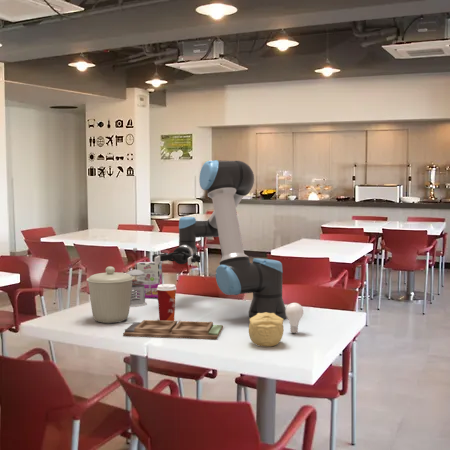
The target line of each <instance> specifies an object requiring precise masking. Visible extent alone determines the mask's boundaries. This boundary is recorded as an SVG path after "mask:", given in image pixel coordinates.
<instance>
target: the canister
mask: <svg viewBox="0 0 450 450" xmlns="http://www.w3.org/2000/svg"><path fill="white" fill-rule="evenodd" d="M115 271H116V268H115V267H114V266H111V265H110V266H107V267H106V268H105V272H100V273H95V274H91V275H89V277H87V278H86V282H87V283H88V284H87V285H88V291H89V298H90V306H91V312H92V317H93V320H95V321H96V322H99V323H103V324H114V323H119V322H123V321H125V320H127V319H128V317H129V314H130V308H131V307H130V300H131V290H132V281H135V276H131V275H129V274H126V273H127V272H126V273H125V272H117V271H116V272H115ZM132 291H133V290H132Z"/></svg>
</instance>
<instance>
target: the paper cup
mask: <svg viewBox="0 0 450 450" xmlns="http://www.w3.org/2000/svg"><path fill="white" fill-rule="evenodd" d="M176 291H177V287H176V284H174V283H162V284H161V285H158V287H157V292H158V298H157V301H158V302H157V303H158V304H157V305H158V318H159V320H162V321H175V313H176V312H175V311H176V294H177V293H176Z"/></svg>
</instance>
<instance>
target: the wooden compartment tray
mask: <svg viewBox="0 0 450 450" xmlns="http://www.w3.org/2000/svg"><path fill="white" fill-rule="evenodd" d="M223 330H224V325H223V324H214V321H192V320H191V321H186V320H185V321H184V320H179V321H177V320H174V321H162V320H157V319H155V320H154V319H153V320H152V319H143V320H142V321H141V322H140V321H139V322H137V321H135V322H133V323H132V324H130V325H129V326H128V327H127V328H126V329H124V332H123V333H122V336H123V337H137V338H160V339H161V338H163V339H164V338H167V339H188V340H189V339H193V340H194V339H195V340H218V338H219V336H221V333H222V331H223Z"/></svg>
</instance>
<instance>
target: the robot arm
mask: <svg viewBox="0 0 450 450" xmlns="http://www.w3.org/2000/svg"><path fill="white" fill-rule="evenodd" d="M198 177H199V180H198V181H199V186H200V188H201V189H202V190H203V191H206V193H207V197H208V198H210V199H211V200H212V206H213V212H212V213H211V215H210V216H209V218H208V220H197V219H196V217H195V216H182V217H180V218H179V221H178V247H176V248H175V249H174V250H173V252H169V253H168V252H164V253H158V254H152V255H151V257H152V259H151V260H152V261H151V262H155V264H158V263H160V262H167V261H169V262H175V263H176V264H178V265H185V264H187V266H191V265H192V264H193V263H200V264H201V262H202V261H201V259H202V258H201V256H200V255H199V254H198V247H197V245H196V243H197V242H196V239H197V238H217V237H218V240H219V247H220V250H221V251H220V252H221V256H222V257H221V259H220V261H219V263H218V264H219V265H218V266H217V267H216V269H215V280H216V284H217V286H218V289H219V290H220V291H221V292H222V293H223V294H225V295H227V296H238V295H242V294H243V295H244V294H252V300H251V303H250V306H249V309H248V318H249V319H250V318H252V317H254V316H255V315H257V313H265V312H267V313H275V315H277V316H279V317H281V318H283V320H285V319H286V318H287V316H286V314H285V309H286V305H285V303H284V299H283V273H284V272H283V263H282V262H281V261H279V260H276V259H268V258H263V257H262V258H259V257H256V258H255V257H254V258H252V262H250V257H249V255H247V254H245V250H244V246H243V240H242V235H241V229H240V223H239V218H238V212H237V207H238V206H239V204H240V202H241V201H242V200H243V198H244V197H245V196H248V195H249V193H250V192H251V191H252V189H253V187H254V184H255V174H254V172H253V170H252V168H251V166H249V164H248V163H246V162H244V161H241V160H219V159H215V160H207V161H205V162H204V163H203V165H202V166H201V168H200V172H199V176H198ZM287 319H288V318H287Z"/></svg>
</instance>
